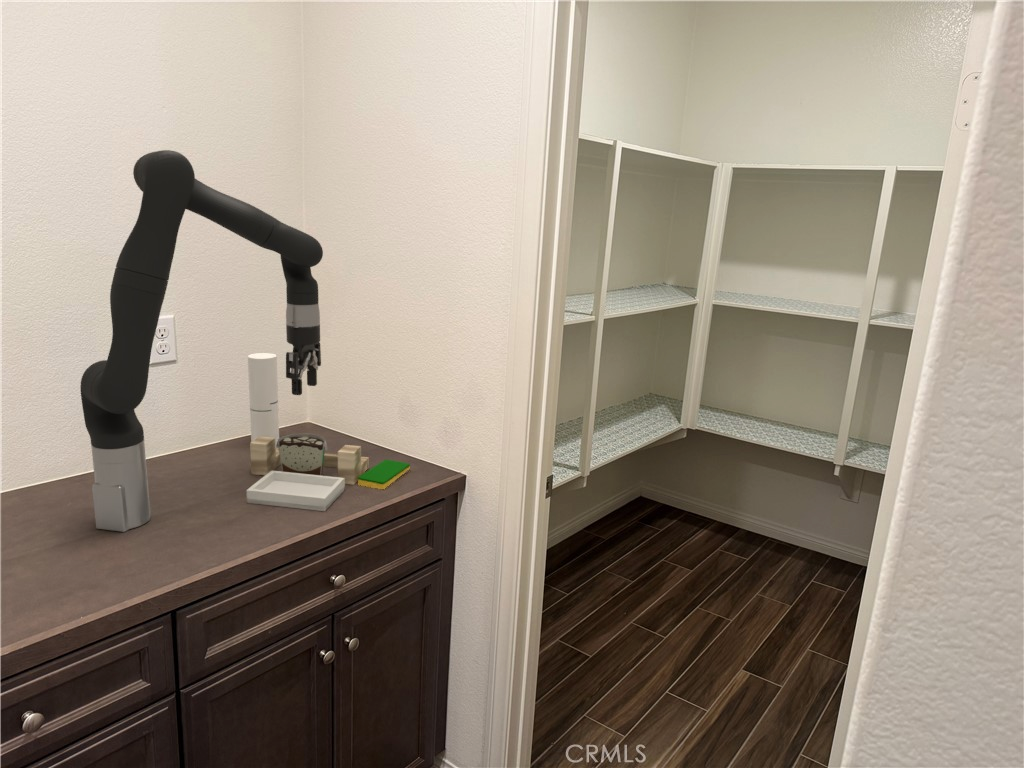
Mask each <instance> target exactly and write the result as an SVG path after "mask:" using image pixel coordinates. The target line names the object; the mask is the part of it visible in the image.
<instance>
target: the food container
mask: <svg viewBox="0 0 1024 768" xmlns="http://www.w3.org/2000/svg"><path fill="white" fill-rule="evenodd" d="M276 447H277V448H278V449H279V453H280V461H281V465H280V467H281V472H291V473H301V474H311V475H320V476H323V471H324V466H323V462H324V453H326V452H327V451H328V445H327V441H326V439H325V438H324V437H323V436H321V435H318V434H315V433H293V434H288V435H284V436H281V437H279V439H278V441H277V444H276Z"/></svg>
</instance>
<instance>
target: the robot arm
mask: <svg viewBox="0 0 1024 768" xmlns="http://www.w3.org/2000/svg"><path fill="white" fill-rule="evenodd" d="M132 172H133V173H132V175H133V179H134V182H135V184H136V185H137V187H138V188H139V190H140V191H141V192H142V198H141V203H140V209H139V214H138V216H137V219H136V221H135V224H134V226H133V228H132V230H131V232H130V234H129V235H128V237H127V239H126V241H125V243H124V244H123V247H122V249H121V251H120V254H119V256H118V259H117V261H116V265H115V268H114V273H113V277H112V281H111V286H110V292H109V304H110V314H111V315H110V317H111V324H112V325H111V326H112V328H111V329H112V335H111V337H112V338H111V345H110V348H109V351H108V355H107V359H106V360H105V359H104V360H98V361H96V362H94V363H92V364H91V365H89V366H88V367H87V368H86V369H85V370H84V372H83V373H82V376H81V378H80V379H81V380H80V385H79V386H80V397H81V399H80V400H81V405H82V413H83V418H84V424H85V425H84V426H85V427H86V431H87V433H88V435H89V439H90V444H91V445H90V446H91V456H92V466H93V467H92V468H93V475H94V476H93V477H94V483H93V484H91V488H92V489H91V490H92V498H93V507H94V517H95V518H94V519H95V526H96V527H95V528H96V529H98V530H107V531H113V532H121V533H122V532H123V533H125V532H127V531H129V530H130V529H135V528H138V527H140V526H141V527H142V525H145V524H146V523H147V522H149V521H150V520H151V505H150V504H151V503H150V494H149V493H150V492H149V482H148V472H147V460H146V459H147V458H146V446H145V445H146V444H145V435H144V426H143V425H142V424H141V422H140V420H139V419H138V416H137V413H136V411H135V409H137V408H138V407H139V406H140V404H141V403H142V401H143V399H144V397H145V395H146V392H147V388H148V381H149V372H150V364H151V363H150V362H151V356H152V355H151V354H152V348H153V343H154V339H155V335H156V332H157V328H158V325H159V324H158V323H159V320H160V319H159V318H160V315H161V310H162V306H163V303H164V300H165V296H166V292H167V288H168V283H169V279H170V274H171V268H172V264H173V260H174V255H175V251H176V245H177V240H178V239H177V238H178V233H179V230H180V226H181V223H182V220H183V217H184V215H185V212H186V210H188V211H190V212H191V213H194V214H196V215H198V216H201V217H203V218H205V219H207V220H210V221H211V222H214V223H215V224H217V225H219V226H221V227H223V228H225V229H227V230H229V231H230V232H232V233H234V234H235V235H237V236H239V237H241V238H243V239H245V240H247V241H249V242H250V243H253V244H254V245H256V246H258V247H260V248H263V249H266V250H269V251H273V252H274V253H276V254H279V255H280V261H281V267H282V271H283V277H284V280H285V283H286V288H285V290H286V310H285V325H286V328H285V329H286V342H287V343H288V344H289V345H292V351H287V352H286V353H285V378H286V379H290V380H291V394H292V395H293V396H301V395H302V394H303V379H302V378H303V374H304V372H305V371H306V385H307V386H309V387H310V386H311V387H316V386H317V385H318V375H317V373H318V370H319V367H321V366H322V351H321V343H320V342H321V315H320V306H319V304H320V303H319V284H318V281H317V280H316V279H315V278H314V277H313V275H312V269H311V268H312V267H315V266H317V265H318V264H319V263H320V262H321V261H322V259H323V255H324V251H323V250H324V249H323V247H322V245H321V243H320V241H318V240H317V239H316V237H313V236H312V235H310V234H308V233H306V232H304V231H301V230H300V229H297V228H296V227H293V226H290V225H288V224H286V223H284V222H282V221H280V220H279V219H277V218H276V217H274V216H272V215H270V213H267V212H266V211H263V210H262V209H260V208H258V207H256V206H254V205H252V204H250V203H248V202H245V201H244V200H240V199H238V198H236V197H233V196H230V195H229V194H226V193H224V192H221V191H219V190H217V189H214V188H213V187H212V186H211V187H210V186H209V185H207V184H205V183H203V182H201V181H200V180H198V179H197V178H196V175H195V170H194V168H193V165H192V163H191V162H190V161H189V159H188V158H187V157H186V156H185V155H184V154H182V153H181V152H179V151H176V150H175V151H174V150H170V149H163V150H156V151H151V152H148V153H145V154H144V155H142V156H141V157H139V158H138V159H137V160H136V162H135V164H134V166H133V171H132Z"/></svg>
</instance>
